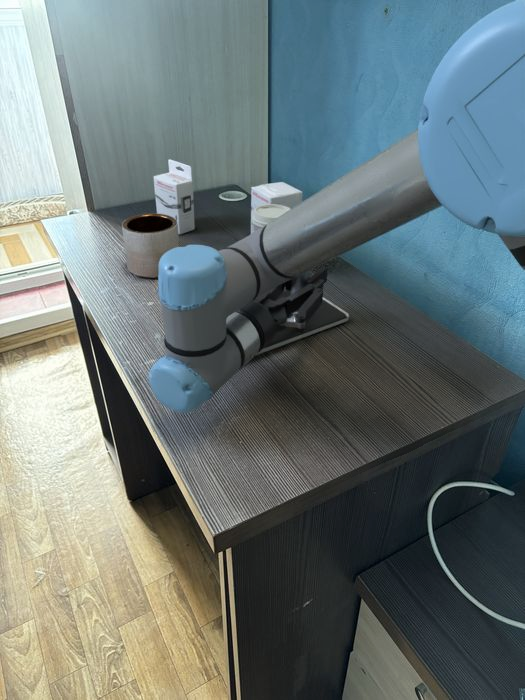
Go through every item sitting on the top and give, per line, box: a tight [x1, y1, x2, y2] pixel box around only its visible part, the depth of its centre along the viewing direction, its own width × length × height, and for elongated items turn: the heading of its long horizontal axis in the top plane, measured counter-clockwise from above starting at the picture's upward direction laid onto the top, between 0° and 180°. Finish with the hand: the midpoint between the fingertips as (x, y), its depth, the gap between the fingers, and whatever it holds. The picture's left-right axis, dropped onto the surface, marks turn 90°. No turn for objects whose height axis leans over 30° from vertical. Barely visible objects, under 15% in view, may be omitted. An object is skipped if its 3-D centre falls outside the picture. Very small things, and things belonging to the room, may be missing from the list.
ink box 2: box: [250, 181, 303, 235], centre depth 116 cm, size 8×8×12 cm
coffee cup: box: [250, 204, 290, 232], centre depth 105 cm, size 9×9×12 cm
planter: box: [121, 212, 181, 279], centre depth 104 cm, size 11×11×10 cm
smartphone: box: [255, 290, 350, 356], centre depth 89 cm, size 13×27×2 cm, turn 124°
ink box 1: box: [153, 158, 196, 235], centre depth 120 cm, size 9×5×15 cm, turn 47°
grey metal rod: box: [291, 269, 312, 317], centre depth 85 cm, size 3×3×13 cm
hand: (315, 271), depth 89 cm, fingers closed on grey metal rod, 3 cm apart
